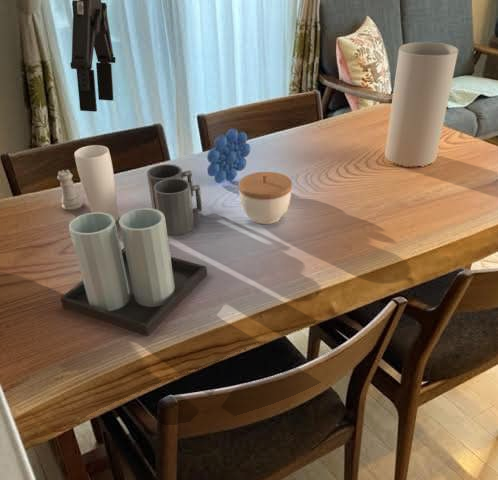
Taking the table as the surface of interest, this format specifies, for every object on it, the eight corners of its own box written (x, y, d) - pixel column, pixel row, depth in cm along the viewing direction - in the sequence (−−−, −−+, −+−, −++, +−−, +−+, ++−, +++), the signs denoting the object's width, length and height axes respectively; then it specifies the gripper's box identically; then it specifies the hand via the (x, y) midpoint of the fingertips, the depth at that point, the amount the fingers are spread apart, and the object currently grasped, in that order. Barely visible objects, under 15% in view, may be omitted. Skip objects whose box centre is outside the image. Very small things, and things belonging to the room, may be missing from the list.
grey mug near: (169, 239, 107) (163, 197, 101) (153, 224, 112) (147, 184, 106) (210, 225, 111) (207, 184, 105) (194, 211, 116) (190, 172, 110)
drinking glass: (84, 220, 114) (67, 151, 104) (112, 209, 117) (97, 142, 108) (100, 232, 110) (84, 161, 100) (129, 220, 113) (115, 151, 104)
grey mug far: (162, 222, 112) (156, 181, 107) (147, 209, 117) (141, 170, 111) (202, 209, 116) (198, 169, 111) (186, 197, 121) (182, 158, 115)
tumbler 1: (81, 307, 91) (58, 228, 81) (107, 285, 95) (88, 208, 86) (114, 318, 88) (95, 238, 79) (138, 295, 93) (123, 217, 83)
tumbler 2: (126, 302, 91) (109, 224, 82) (150, 281, 96) (136, 204, 86) (160, 313, 89) (147, 233, 79) (183, 291, 93) (173, 213, 84)
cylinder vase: (440, 153, 136) (463, 44, 120) (429, 172, 128) (451, 58, 112) (392, 145, 141) (407, 40, 125) (378, 163, 132) (392, 52, 117)
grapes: (240, 168, 132) (238, 119, 125) (256, 177, 128) (255, 127, 120) (199, 180, 127) (195, 130, 120) (214, 191, 123) (210, 139, 115)
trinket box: (284, 202, 118) (285, 161, 112) (296, 226, 109) (297, 183, 104) (236, 207, 116) (234, 166, 110) (244, 232, 108) (242, 189, 102)
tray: (62, 307, 91) (59, 298, 89) (128, 253, 103) (127, 244, 102) (148, 336, 84) (146, 326, 83) (207, 275, 97) (206, 266, 96)
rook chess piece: (72, 213, 117) (63, 178, 111) (58, 208, 118) (48, 173, 113) (87, 204, 119) (79, 170, 114) (73, 200, 121) (64, 166, 116)
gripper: (92, -37, 78) (102, 117, 88) (125, -26, 99) (130, 97, 110) (39, -41, 78) (56, 114, 88) (84, -29, 99) (93, 94, 110)
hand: (97, 105), depth 99 cm, fingers open, 13 cm apart
